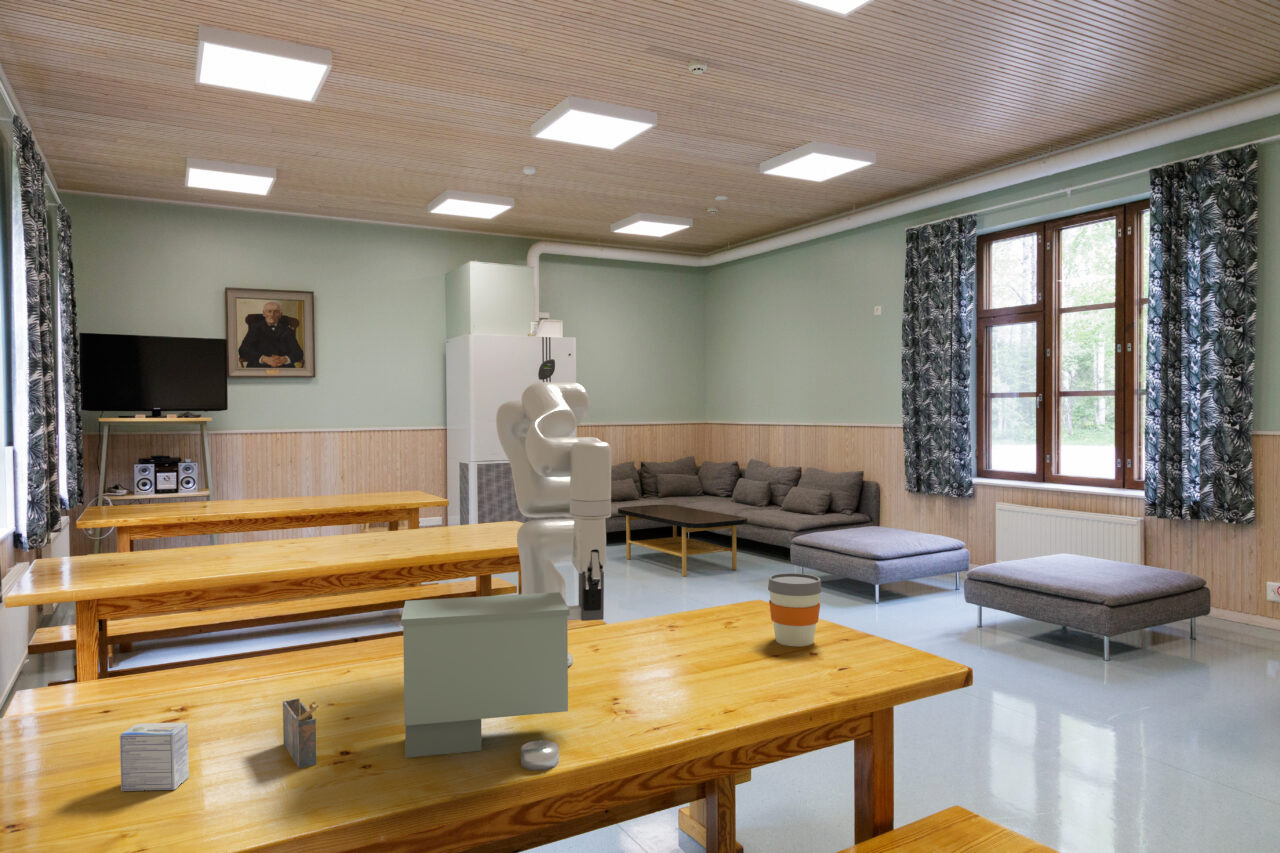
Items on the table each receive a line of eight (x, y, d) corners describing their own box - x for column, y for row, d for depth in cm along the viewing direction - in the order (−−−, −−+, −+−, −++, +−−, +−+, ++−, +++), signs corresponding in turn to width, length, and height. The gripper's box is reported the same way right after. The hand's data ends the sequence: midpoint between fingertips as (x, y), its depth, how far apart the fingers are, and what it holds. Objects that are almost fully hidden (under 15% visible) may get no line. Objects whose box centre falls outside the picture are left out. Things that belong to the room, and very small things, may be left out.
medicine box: (190, 777, 126) (189, 721, 126) (174, 791, 121) (173, 733, 121) (137, 778, 126) (136, 722, 125) (119, 792, 121) (118, 734, 121)
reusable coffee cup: (780, 650, 189) (781, 585, 189) (759, 635, 201) (759, 574, 201) (830, 646, 192) (831, 582, 192) (807, 631, 204) (807, 571, 204)
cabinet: (407, 733, 143) (405, 600, 142) (560, 719, 148) (559, 592, 148) (402, 764, 130) (401, 619, 130) (570, 747, 136) (569, 609, 136)
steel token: (519, 757, 133) (519, 742, 133) (556, 754, 134) (556, 738, 134) (522, 773, 127) (521, 757, 127) (560, 770, 128) (560, 754, 128)
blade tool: (502, 619, 151) (502, 570, 151) (599, 613, 155) (599, 566, 155) (504, 625, 147) (504, 575, 147) (603, 619, 151) (603, 571, 151)
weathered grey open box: (319, 766, 131) (318, 705, 130) (299, 771, 129) (298, 709, 129) (302, 742, 140) (301, 685, 140) (283, 746, 138) (282, 689, 138)
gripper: (564, 502, 159) (563, 595, 160) (577, 516, 143) (576, 620, 144) (602, 501, 160) (601, 593, 162) (619, 515, 144) (618, 618, 145)
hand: (589, 605), depth 153 cm, fingers closed on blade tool, 4 cm apart
